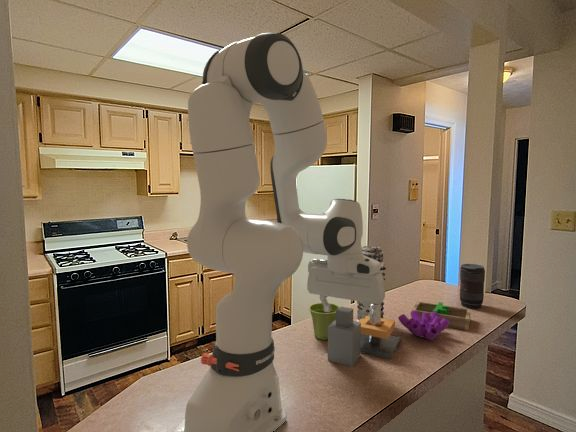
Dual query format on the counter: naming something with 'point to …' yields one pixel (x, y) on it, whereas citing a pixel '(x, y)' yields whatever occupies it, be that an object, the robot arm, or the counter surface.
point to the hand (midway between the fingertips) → (344, 314)
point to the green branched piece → (441, 309)
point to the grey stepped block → (344, 338)
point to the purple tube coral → (424, 324)
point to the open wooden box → (455, 315)
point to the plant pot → (322, 319)
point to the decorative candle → (377, 255)
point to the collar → (376, 331)
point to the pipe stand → (376, 344)
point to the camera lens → (472, 285)
